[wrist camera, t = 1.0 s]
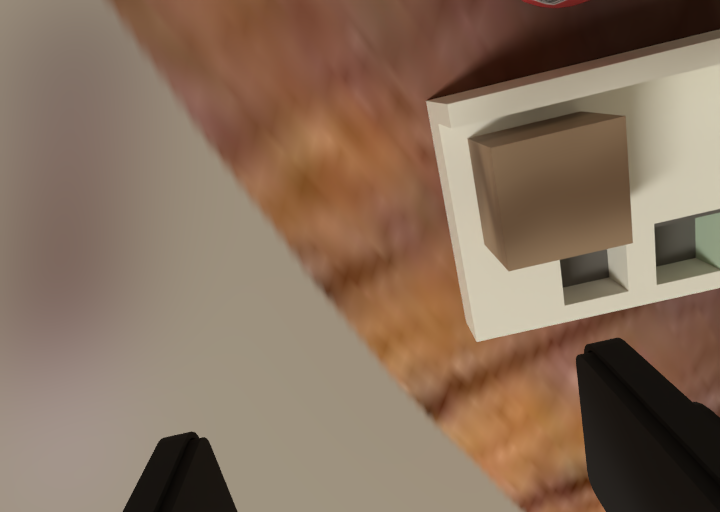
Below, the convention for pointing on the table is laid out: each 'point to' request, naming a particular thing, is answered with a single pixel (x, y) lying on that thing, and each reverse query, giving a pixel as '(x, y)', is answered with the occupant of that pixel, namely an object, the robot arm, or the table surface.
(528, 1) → the canned food
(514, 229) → the block
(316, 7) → the table surface
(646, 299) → the trap box
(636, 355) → the robot arm
